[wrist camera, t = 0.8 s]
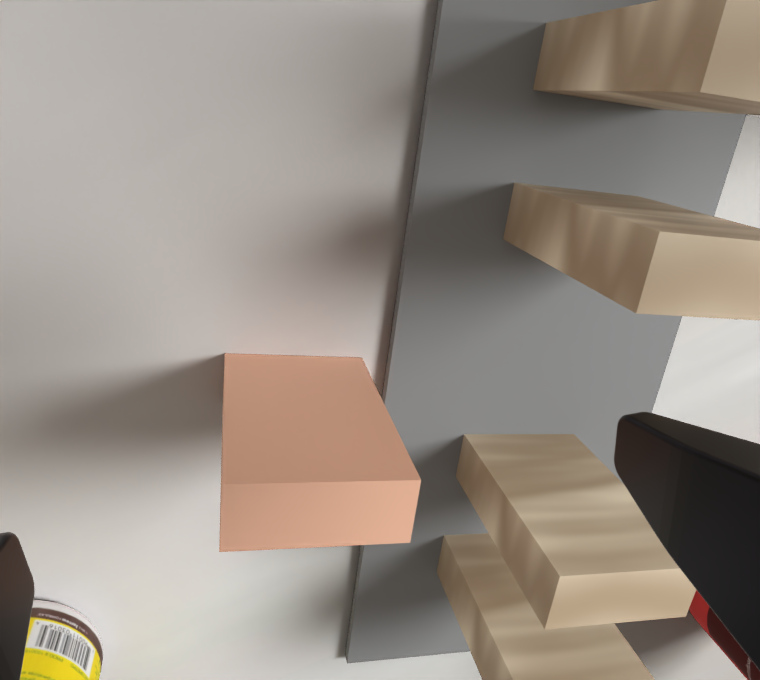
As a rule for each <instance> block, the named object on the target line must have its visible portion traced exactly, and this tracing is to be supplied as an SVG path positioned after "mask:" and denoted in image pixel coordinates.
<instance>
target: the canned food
mask: <svg viewBox="0 0 760 680" xmlns="http://www.w3.org/2000/svg"><path fill="white" fill-rule="evenodd" d="M689 611H690V613H691V614H692V615H693V617H694V618H695V620H696V621H697V622H698V623H699V624H700V625H701V627H702V628H703V629H704V630H705V631H706V632H707V633H708V635H709V636H710V637H711V638H712V639H713V640H714V642H715V643H716V644H717V645H718V646H719V647H720V648H721V650H722V651H723V652H724V653H725V654H726V655H727V657H728V658H729V659H730V660H731V661H732V662H733V663H734V665H735V666H736V667H737V668H738V669H739V670H740V672H741V673H742V674H743V675H744V676H745V677H746V678H747V680H760V670H759V669H758V668H757V667H756V665H755V664H754V663H753V661H752V660H751V659H750V658H749V656H748V655H747V654H746V653H745V651H744V650H743V649H742V647H741V646H740V645H739V644H738V642H737V641H736V640H735V638H734V637H733V636H732V635H731V633H730V632H729V631H728V629H727V628H726V627H725V626H724V624H723V623H722V622H721V621H720V619H719V618H718V617H717V615H716V614H715V613H714V612H713V610H712V609H711V608H710V606H709V605H708V604H707V603H706V601H705V600H704V599H703V597H702V596H701V595H700V594H699V592H698V591H697V590H696V592H695V594H694V597H693V600H692V602H691V605H690V607H689Z"/></svg>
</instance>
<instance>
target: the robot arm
mask: <svg viewBox="0 0 760 680" xmlns="http://www.w3.org/2000/svg"><path fill="white" fill-rule="evenodd" d="M614 465H615V469H616V471H617V473H618V475H619V477H620V479H621V480H622V482H623V483H624V485H625V487H626V488H627V490H628V491H629V493H630V494H631V496H632V498H633V499H634V501H635V502H636V504H637V506H638V507H639V509H640V510H641V512H642V513H643V515H644V517H645V518H646V520H647V521H648V523H649V525H650V526H651V528H652V529H653V531H654V532H655V534H656V536H657V537H658V539H659V540H660V542H661V543H662V545H663V546H664V548H665V549H666V551H667V552H668V553H669V555H670V556H671V557H672V559H673V560H674V561H675V563H676V564H677V565H678V567H679V568H680V569H681V571H682V572H683V573H684V574H685V576H686V577H687V578H688V580H689V581H690V582H691V583H692V585H693V586H694V587H695V588H696V590H697V591H698V592H699V594H700V595H701V596H702V597H703V599H704V600H705V601H706V603H707V604H708V605H709V606H710V608H711V609H712V610H713V612H714V613H715V614H716V615H717V617H718V618H719V619H720V621H721V622H722V623H723V624H724V626H725V627H726V628H727V629H728V631H729V632H730V633H731V635H732V636H733V637H734V638H735V640H736V641H737V642H738V644H739V645H740V646H741V647H742V649H743V650H744V651H745V653H746V654H747V655H748V656H749V658H750V659H751V660H752V661H753V663H754V664H755V665H756V667H757V668H758V669H759V670H760V444H757V443H754V442H750V441H747V440H743V439H740V438H736V437H733V436H729V435H726V434H722V433H719V432H715V431H712V430H708V429H705V428H702V427H698V426H695V425H691V424H688V423H684V422H681V421H677V420H674V419H670V418H667V417H663V416H660V415H656V414H653V413H649V412H638V413H633V414H628V415H624V416H622V417H621V418H620V419H619V421H618V424H617V433H616V442H615V452H614ZM33 600H34V581H33V577H32V574H31V572H30V569H29V566H28V564H27V561H26V558H25V555H24V553H23V550H22V547H21V545H20V542H19V540H18V538H17V537H16V535H15V534H13V533H11V532H6V533H0V680H20V676H21V670H22V664H23V658H24V653H25V647H26V641H27V635H28V629H29V623H30V617H31V612H32V606H33Z"/></svg>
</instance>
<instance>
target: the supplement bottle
mask: <svg viewBox="0 0 760 680" xmlns="http://www.w3.org/2000/svg"><path fill="white" fill-rule="evenodd" d="M102 660H103V645H102V641H101V638H100V635H99V633H98V631H97V629H96V628H95V626H94V625H93V624H92V622H91V621H90V620H89V619H88V618H86V617H85V616H84V615H83V614H81V613H80V612H78V611H76V610H74V609H72V608H70V607H68V606H65V605H62V604H59V603H55V602H50V601H43V600H33V606H32V612H31V617H30V623H29V629H28V635H27V641H26V647H25V653H24V658H23V664H22V670H21V676H20V680H99V676H100V672H101V666H102Z"/></svg>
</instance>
